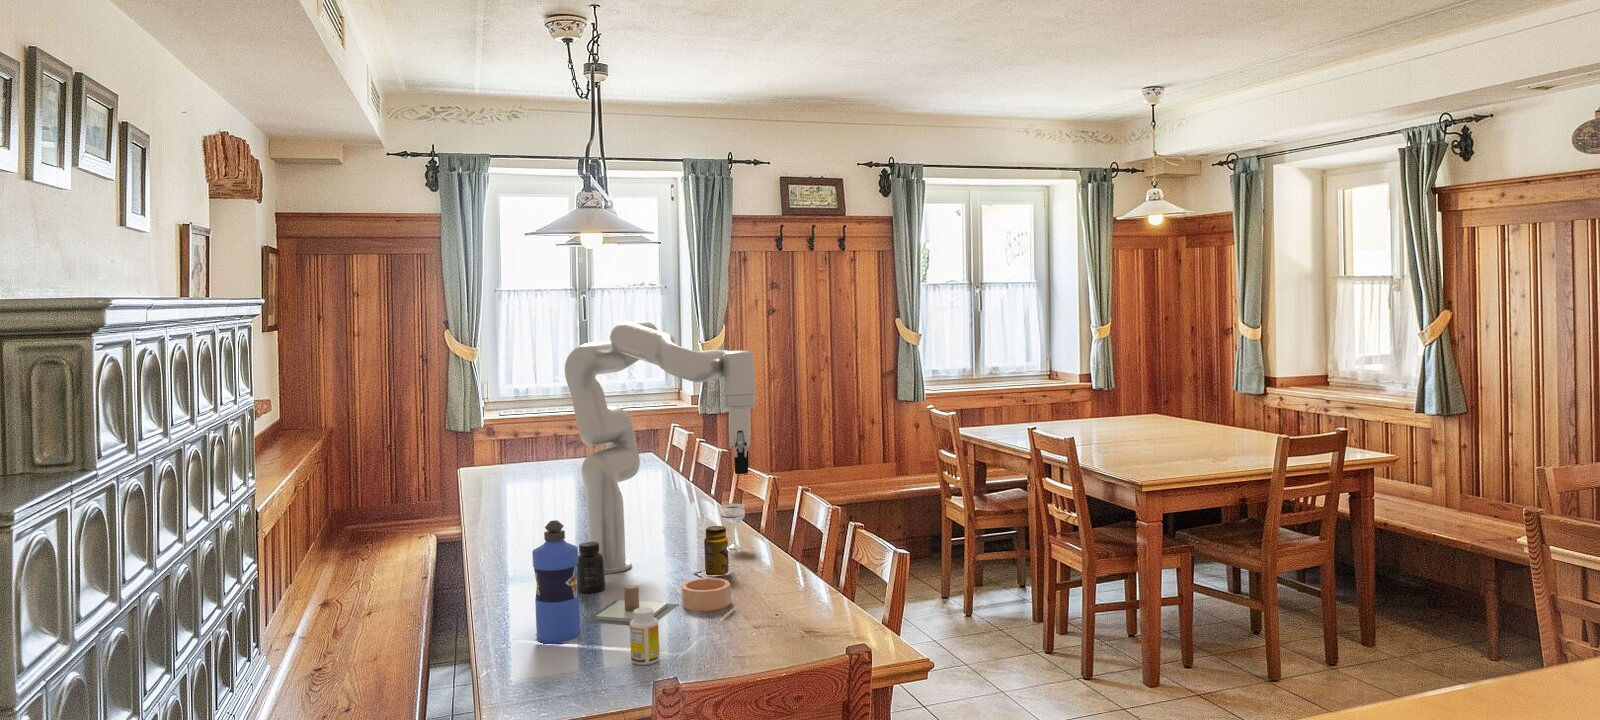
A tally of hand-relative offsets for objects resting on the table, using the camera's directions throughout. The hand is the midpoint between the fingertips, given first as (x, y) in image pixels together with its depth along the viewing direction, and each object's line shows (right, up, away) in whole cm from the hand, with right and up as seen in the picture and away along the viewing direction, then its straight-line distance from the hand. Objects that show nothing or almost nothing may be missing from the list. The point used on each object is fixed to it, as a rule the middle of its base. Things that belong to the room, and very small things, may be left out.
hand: (741, 470), depth 252 cm
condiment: (-8, -28, +12) cm, 32 cm away
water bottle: (-37, -32, -35) cm, 60 cm away
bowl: (-7, -30, -16) cm, 34 cm away
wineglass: (-4, -26, +39) cm, 47 cm away
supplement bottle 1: (-37, -30, -2) cm, 47 cm away
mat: (-24, -30, -21) cm, 44 cm away
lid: (-24, -30, -21) cm, 44 cm away
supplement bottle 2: (-16, -32, -50) cm, 62 cm away
